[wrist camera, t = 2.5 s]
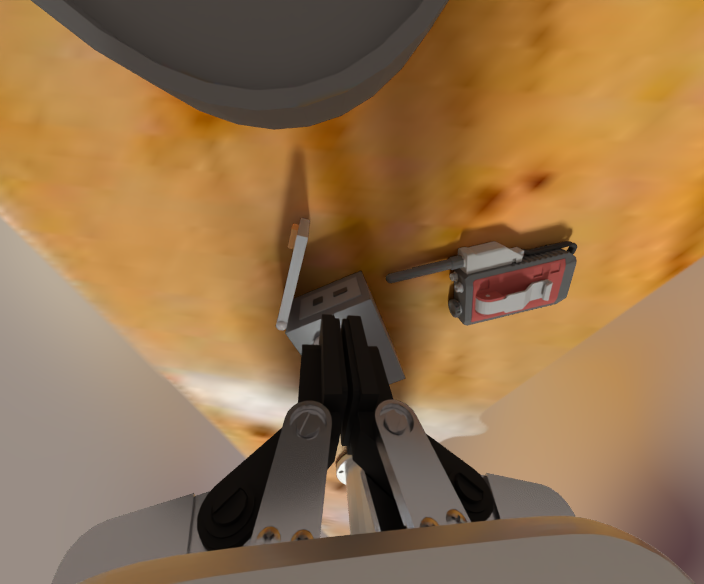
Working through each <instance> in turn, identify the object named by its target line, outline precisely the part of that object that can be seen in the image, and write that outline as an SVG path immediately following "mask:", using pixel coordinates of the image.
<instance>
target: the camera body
mask: <svg viewBox="0 0 704 584" xmlns="http://www.w3.org/2000/svg"><path fill="white" fill-rule="evenodd" d="M322 314H331V315H335V318H339V320H340V328H341V325H342V319H343V318H345V319H347V316H348V315H352V316H361V320H362V324H363V328H364V332H365V336H366V340H367V344H368V346H377V347H378V349H379V352H380V356H381V359H382V362H383V366H384V369H385V373H386V376H387V379H388V383H389V384H392V383H394V382H397V381H400V380H403V379H405V376H404V373H403V370H402V368H401V365H400V362H399V360H398V357H397V354H396V352H395V349H394V346H393V344H392V341H391V339H390V337H389V334H388V332H387V330H386V327H385V325H384V323H383V320H382V318H381V316H380V313H379V311H378V309H377V306H376V304H375V302H374V299H373V297H372V295H371V292H370V290H369V288H368V285H367V283H366V281H365V278H364V276H363V274H362V271H359V272H357V273H354V274H352V275H350V276H347V277H345V278H342V279H340V280H338V281H335V282H333V283H330V284H328V285H326V286H323V287H321V288H318V289H316V290H314V291H311V292H309V293H306V294H304V295H301V296H299V297H297V298H294V299H293V301H292V305H291V309H290V313H289V317H288V323H287V328H286V332H285V334H286V335H287V336H288V338H289V339H290V340H291V342H292V343H293V345H294V346H295V347H296V349H297V350H298V352H299V353H300V354H301V355H302V344H309V345H319V336H320V326H321V316H322Z"/></svg>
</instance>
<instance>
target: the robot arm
mask: <svg viewBox="0 0 704 584" xmlns="http://www.w3.org/2000/svg"><path fill="white" fill-rule="evenodd" d="M340 434H341V444H342V446H347V454H346V455H344V456H343V457H342V458H341V459H340V460H339V462H338V463H337V466H336V474H337V478H338V479H339V480H340V481H341V482H342V483H344V484H346V487H347V499H348V511H349V524H350V535H345V536H335V537H326V538H320V532H321V522H322V513H323V503H324V494H325V484H326V475H327V470H328V468H329V467H330V466H331V465H332V463H333V462H334V461H335V456H336V451H337V446H338V443H339V438H340ZM52 584H695V582H694V581H693V580H692V579H691V578H690V577H689V576H688V575H687V574H686V573H684V572H683V571H682V570H681V569H680V568H679V567H678V566H677V565H676V564H675V563H674V562H672V561H671V560H670V559H669V558H668V557H667V556H665V555H664V554H663V553H661V552H659V551H658V550H657V549H655V548H654V547H653V546H651V545H649V544H648V543H646V542H644V541H643V540H641V539H639V538H637V537H635V536H633V535H631V534H629V533H627V532H625V531H622V530H620V529H618V528H615V527H613V526H611V525H608V524H604V523H601V522H598V521H595V520H591V519H586V518H581V517H575V515H574V513H573V511H572V510H571V508H570V506H569V505H568V503H567V502H566V501H565V500H564V499H563V498H562V497H561V496H560V495H559V494H558V493H557V492H555V491H554V490H552V489H551V488H549V487H547V486H544V485H542V484H537V483H532V482H527V481H523V480H518V479H513V478H508V477H504V476H499V475H494V474H489V473H486V474H485V475H480V474H479V473H478V472H477V471H475V470H474V469H473V468H472V467H470V466H469V465H468V464H466V463H465V462H464V461H462V460H461V459H460V458H458V457H457V456H456V455H454V454H453V453H451V452H450V451H449V450H447V449H446V448H445V447H443V446H442V445H441V444H439V443H438V442H437V441H435V440H434V439H433V438H431V437H430V436H428V435H427V434H426V433H425V431H424V429H423V427H422V425H421V424H420V422H419V420H418V418H417V416H416V414H415V413H414V411H413V410H412V409H411V408H410V407H409V406H408V405H407V404H405V403H403V402H401V401H398V400H393V397H392V393H391V390H390V386H389V383H388V379H387V376H386V373H385V369H384V366H383V362H382V359H381V356H380V352H379V349H378V347H377V346H368V344H367V340H366V336H365V332H364V328H363V324H362V320H361V316H352V315H348V316H347V319H345V318H343V319H342V325H341V328H340V320H339V318H335V315H331V314H322V316H321V326H320V336H319V345H309V344H302V355H301V369H300V383H299V396H298V403H297V404H296V405H294V406H293V407H292V408H291V409H290V410H289V411H288V413H287V415H286V417H285V420H284V423H283V427H282V428H281V429H280V430H279V431H278V432H277V433H276V434H274V435H273V436H272V437H271V438H270V439H269V440H267V441H266V442H265V443H264V444H263V445H262V446H261V447H259V448H258V449H257V450H256V451H255V452H254V453H253V454H251V455H250V456H249V457H248V458H247V459H246V460H244V461H243V462H242V463H241V464H240V465H239V466H238V467H237V468H235V469H234V470H233V471H232V472H231V473H230V474H228V475H227V476H226V477H225V478H224V479H223V480H222V481H220V482H219V483H218V484H217V485H216V486H215V487H214V488H213V489H212V490H211V491H210V492H206V493H203V494H200V495H197V496H195V495H194V493H193V494H190V495H186V496H184V497H180V498H177V499H173V500H170V501H167V502H164V503H161V504H157V505H154V506H151V507H148V508H144V509H141V510H138V511H135V512H132V513H129V514H125V515H122V516H119V517H115V518H112V519H109V520H106V521H104V522H102V523H100V524H98V525H96V526H94V527H92V528H91V529H90V530H89V531H87V532H86V533H85V534H84V535H82V536H81V537H80V538H79V539H78V540H77V541H76V542H75V543H74V544H73V546H72V547H71V548H70V549H69V550H68V551H67V553H66V554H65V556H64V558H63V560H62V562H61V563H60V565H59V567H58V569H57V572H56V574H55V577H54V579H53V581H52Z"/></svg>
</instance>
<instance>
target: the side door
mask: <svg viewBox="0 0 704 584" xmlns="http://www.w3.org/2000/svg"><path fill="white" fill-rule="evenodd" d="M309 224H310V220H308V219H304V218H301V220H300V224H299V225H298V224H294V223H293V226H292V229H291V234H290V238H289V243H288V248H290V249H294V251H293V255H292V259H291V264H290V268H289V273H288V277H287V282H286V286H285V291H284V294H283V298H282V302H281V306H280V311H279V315H278V319H277V324H276V328H277V329H278V330H285V329H286V328H287V323H288V317H289V313H290V309H291V305H292V301H293V297H294V293H295V289H296V285H297V281H298V277H299V273H300V269H301V265H302V261H303V256H304V252H305V248H306V244H307V240H308V234H309Z"/></svg>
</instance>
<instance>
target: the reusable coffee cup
mask: <svg viewBox="0 0 704 584" xmlns="http://www.w3.org/2000/svg"><path fill="white" fill-rule="evenodd" d="M31 1H32V2H34V3H35V4H36V5H38V6H39V7H40V8H41V9H43V10H44V11H45V12H47V13H48V14H49V15H50V16H52V17H53V18H54V19H56V20H57V21H58V22H60V23H61V24H62V25H63V26H65V27H66V28H67V29H69V30H70V31H71V32H72V33H74V34H75V35H76V36H78V37H79V38H80V39H82V40H83V41H84V42H85V43H87V44H88V45H89V46H91V47H92V48H93V49H94V50H96V51H98V52H99V53H101V54H103V55H105V56H106V57H108V58H110V59H111V60H113V61H115V62H116V63H118V64H120V65H121V66H123V67H125V68H126V69H128V70H130V71H132V72H133V73H135V74H137V75H138V76H140V77H142V78H143V79H145V80H147V81H148V82H150V83H152V84H154V85H155V86H157V87H159V88H160V89H162V90H164V91H166V92H167V93H169V94H171V95H173V96H174V97H176V98H178V99H180V100H181V101H183V102H185V103H187V104H188V105H190V106H192V107H194V108H195V109H197V110H199V111H202V112H205V113H207V114H210V115H213V116H216V117H219V118H221V119H224V120H227V121H230V122H233V123H235V124H239V125H246V126H253V127H261V128H268V129H285V128H297V127H308V126H312V125H315V124H318V123H321V122H324V121H327V120H330V119H333V118H336V117H339V116H342V115H343V114H345V113H347V112H348V111H350V110H351V109H353V108H355V107H356V106H358V105H359V104H361V103H363V102H364V101H366V100H368V99H369V98H371V97H372V96H374V95H375V94H376V93H377V92H378V91H379V90H380V89H381V88H382V87H383V86H384V85H385V84H386V83H387V82H388V81H389V80H390V79H391V78H392V77H394V76H395V75H396V74H397V73H398V72H399V71H400V70H401V69H402V68H403V66H404V65H405V63H406V62H407V61H408V59H409V58H410V57H411V55H412V54H413V52H414V51H415V50H416V48H417V47H418V46H419V44H420V43H421V41H422V40H423V39H424V37H425V36H426V34H427V33H428V32H429V30H430V29H431V27H432V26H433V24H434V22H435V21H436V19H437V18H438V16H439V15H440V13H441V12H442V10H443V8H444V7H445V5H446V4H447V2H448V1H449V0H31Z"/></svg>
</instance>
